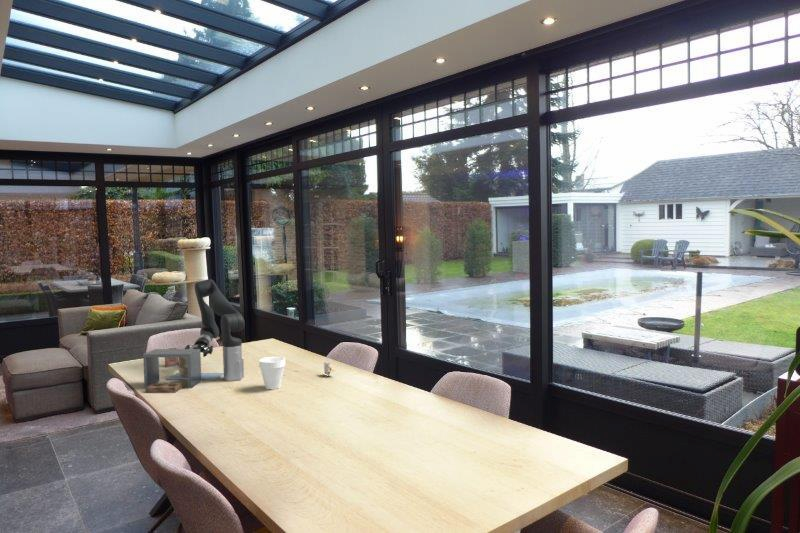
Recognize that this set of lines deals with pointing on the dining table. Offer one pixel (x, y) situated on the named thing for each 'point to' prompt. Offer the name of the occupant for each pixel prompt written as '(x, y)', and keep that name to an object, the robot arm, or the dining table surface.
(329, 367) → the architectural model
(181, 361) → the maple block
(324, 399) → the dining table surface
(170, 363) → the lighter
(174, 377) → the mat
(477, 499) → the dining table surface
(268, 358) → the cup
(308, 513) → the dining table surface
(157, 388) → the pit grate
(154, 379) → the tunnel
